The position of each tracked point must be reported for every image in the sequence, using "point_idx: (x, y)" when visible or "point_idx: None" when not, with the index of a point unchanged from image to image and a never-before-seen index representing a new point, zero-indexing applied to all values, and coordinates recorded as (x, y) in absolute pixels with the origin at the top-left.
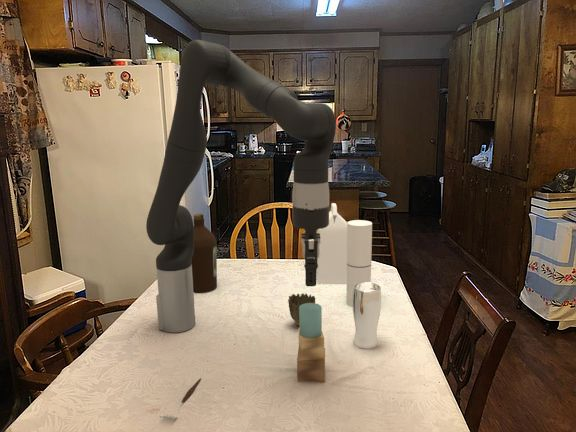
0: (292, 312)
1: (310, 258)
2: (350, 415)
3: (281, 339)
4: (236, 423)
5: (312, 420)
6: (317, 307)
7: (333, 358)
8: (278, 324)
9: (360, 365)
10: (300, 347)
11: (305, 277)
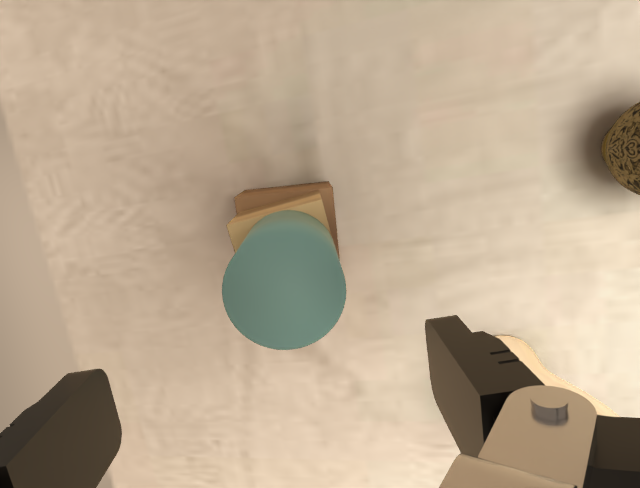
0: (637, 110)
1: (472, 433)
2: (120, 348)
3: (506, 87)
4: (3, 53)
5: (75, 258)
6: (287, 329)
7: (393, 281)
8: (629, 49)
9: (362, 360)
10: (255, 212)
11: (52, 402)
